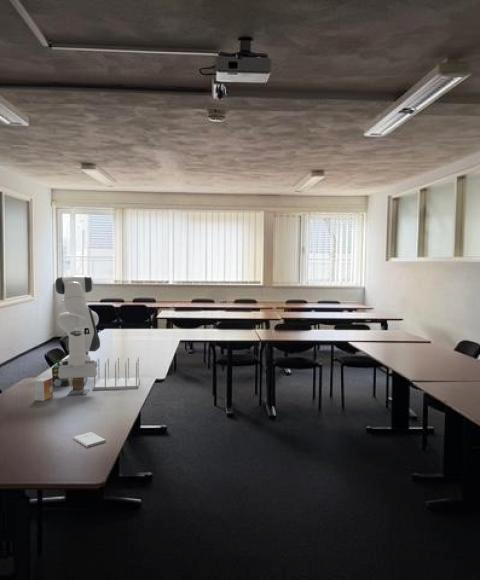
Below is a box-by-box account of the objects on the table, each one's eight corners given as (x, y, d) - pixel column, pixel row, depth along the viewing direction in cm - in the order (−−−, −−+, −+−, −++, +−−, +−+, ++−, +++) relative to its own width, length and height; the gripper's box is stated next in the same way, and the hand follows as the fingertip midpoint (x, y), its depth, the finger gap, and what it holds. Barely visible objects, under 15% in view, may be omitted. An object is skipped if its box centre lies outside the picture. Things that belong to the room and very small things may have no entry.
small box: (44, 401, 245) (43, 381, 244) (34, 400, 246) (34, 380, 245) (53, 396, 253) (52, 377, 252) (44, 396, 254) (43, 376, 253)
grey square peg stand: (71, 390, 264) (70, 379, 263) (89, 389, 265) (89, 378, 265) (67, 395, 254) (66, 383, 254) (86, 395, 255) (85, 383, 255)
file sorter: (92, 390, 264) (92, 363, 263) (97, 382, 282) (96, 356, 280) (138, 388, 268) (137, 361, 267) (140, 380, 285) (139, 355, 284)
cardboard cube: (74, 388, 262) (74, 376, 261) (84, 387, 262) (84, 376, 262) (72, 390, 257) (72, 378, 256) (82, 390, 257) (82, 378, 257)
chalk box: (72, 382, 282) (71, 357, 281) (68, 386, 273) (68, 361, 272) (56, 382, 281) (55, 358, 280) (52, 386, 272) (51, 361, 270)
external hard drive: (87, 449, 186) (73, 440, 195) (106, 443, 192) (91, 435, 201) (87, 445, 186) (73, 436, 195) (106, 439, 192) (91, 431, 200)
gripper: (98, 358, 263) (98, 383, 264) (60, 360, 260) (60, 384, 261) (96, 361, 257) (96, 386, 258) (57, 362, 254) (57, 387, 255)
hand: (78, 385), depth 259 cm, fingers closed on cardboard cube, 5 cm apart
